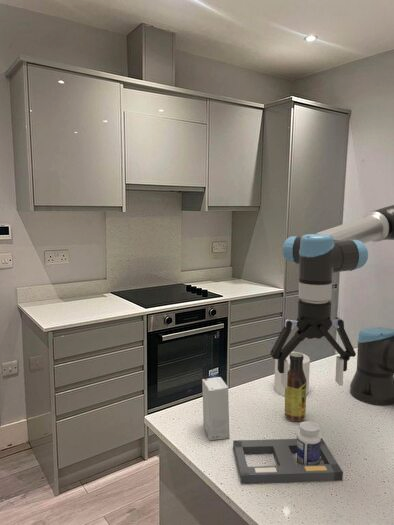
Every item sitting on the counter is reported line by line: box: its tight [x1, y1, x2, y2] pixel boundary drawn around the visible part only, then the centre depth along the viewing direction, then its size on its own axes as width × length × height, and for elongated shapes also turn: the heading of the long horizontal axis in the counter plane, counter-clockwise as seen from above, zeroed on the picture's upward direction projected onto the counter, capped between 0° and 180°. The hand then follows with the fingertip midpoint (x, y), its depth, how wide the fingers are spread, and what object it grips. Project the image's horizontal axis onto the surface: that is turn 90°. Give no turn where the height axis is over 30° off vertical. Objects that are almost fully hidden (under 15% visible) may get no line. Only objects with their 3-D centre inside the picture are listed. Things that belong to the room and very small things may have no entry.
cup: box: [273, 351, 311, 397], centre depth 141 cm, size 12×12×12 cm
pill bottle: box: [296, 420, 322, 465], centre depth 101 cm, size 6×6×10 cm
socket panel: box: [232, 437, 344, 485], centre depth 101 cm, size 24×14×2 cm, turn 93°
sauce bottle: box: [284, 351, 307, 422], centre depth 122 cm, size 7×6×20 cm
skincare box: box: [201, 376, 230, 441], centre depth 115 cm, size 8×6×15 cm
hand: (311, 384), depth 99 cm, fingers open, 13 cm apart
